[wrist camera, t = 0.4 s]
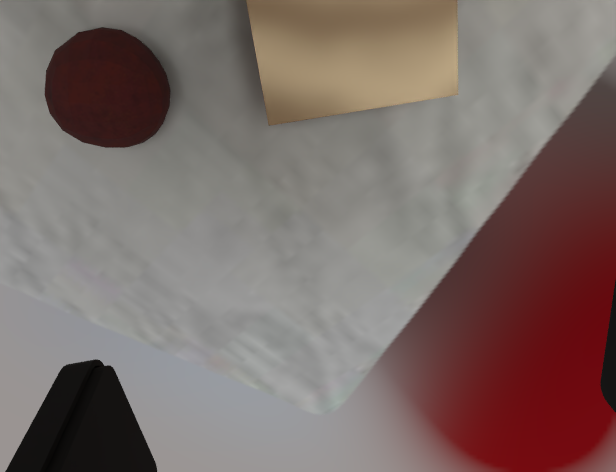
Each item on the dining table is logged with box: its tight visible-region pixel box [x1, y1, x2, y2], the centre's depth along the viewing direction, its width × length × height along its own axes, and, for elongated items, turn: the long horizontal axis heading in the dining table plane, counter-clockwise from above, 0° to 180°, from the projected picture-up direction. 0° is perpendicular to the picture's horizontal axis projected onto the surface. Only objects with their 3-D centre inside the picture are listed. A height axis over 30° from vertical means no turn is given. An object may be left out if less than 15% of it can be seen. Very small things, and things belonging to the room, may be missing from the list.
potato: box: [45, 27, 170, 147], centre depth 32 cm, size 7×8×7 cm
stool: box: [246, 0, 458, 126], centre depth 31 cm, size 12×12×6 cm
